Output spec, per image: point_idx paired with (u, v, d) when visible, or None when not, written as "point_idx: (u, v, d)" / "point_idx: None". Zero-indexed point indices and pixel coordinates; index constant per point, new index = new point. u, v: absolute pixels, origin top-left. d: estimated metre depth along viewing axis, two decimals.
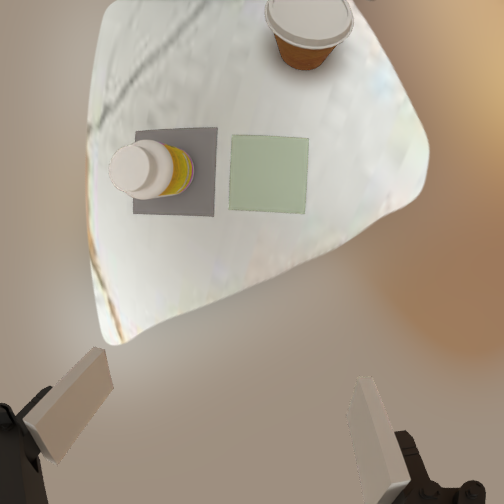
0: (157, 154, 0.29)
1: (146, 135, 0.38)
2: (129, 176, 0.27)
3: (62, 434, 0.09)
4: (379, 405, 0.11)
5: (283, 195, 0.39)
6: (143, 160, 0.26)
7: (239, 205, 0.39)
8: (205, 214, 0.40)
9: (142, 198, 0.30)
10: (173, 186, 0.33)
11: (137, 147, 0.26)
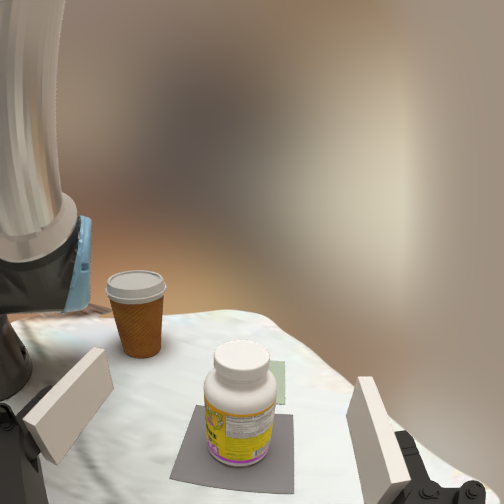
0: None
1: (180, 467, 0.24)
2: (251, 353, 0.24)
3: (62, 434, 0.09)
4: (379, 405, 0.11)
5: None
6: (236, 342, 0.26)
7: (280, 396, 0.36)
8: (291, 420, 0.32)
9: (276, 383, 0.25)
10: None
11: (220, 345, 0.25)
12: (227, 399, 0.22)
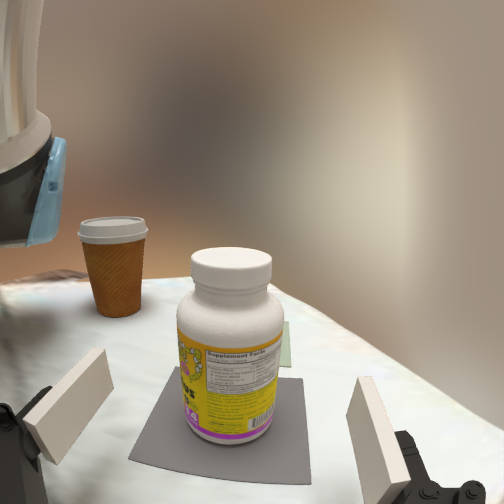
0: None
1: (145, 444, 0.17)
2: (245, 256, 0.17)
3: (62, 434, 0.09)
4: (379, 405, 0.11)
5: None
6: (224, 248, 0.19)
7: (285, 358, 0.29)
8: (300, 385, 0.25)
9: (282, 308, 0.18)
10: None
11: (201, 250, 0.18)
12: (208, 322, 0.15)
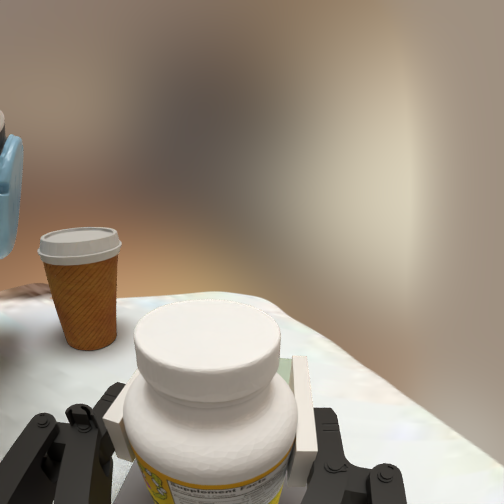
0: None
1: None
2: (232, 326, 0.09)
3: None
4: (305, 381, 0.13)
5: None
6: (197, 304, 0.11)
7: None
8: None
9: (295, 403, 0.10)
10: None
11: (157, 308, 0.10)
12: (165, 448, 0.07)
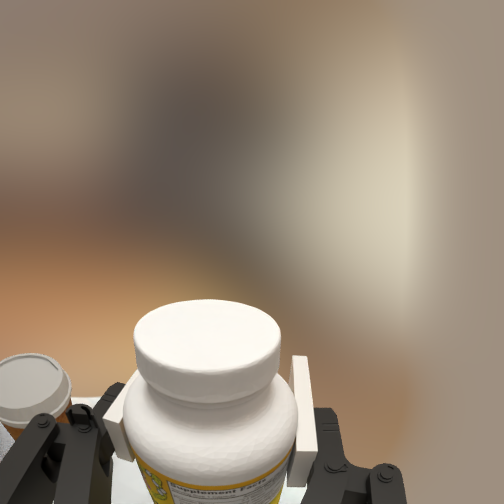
0: None
1: None
2: (232, 327, 0.09)
3: None
4: (305, 381, 0.13)
5: None
6: (197, 304, 0.11)
7: None
8: None
9: (295, 404, 0.10)
10: None
11: (157, 309, 0.10)
12: (165, 449, 0.07)
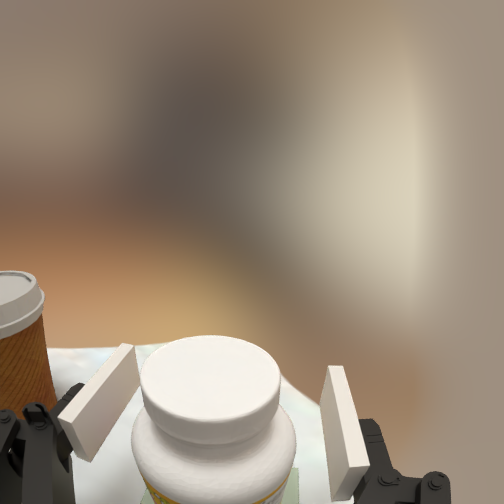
0: None
1: None
2: (234, 369, 0.09)
3: (96, 430, 0.10)
4: (346, 393, 0.12)
5: None
6: (200, 341, 0.11)
7: None
8: None
9: (293, 433, 0.10)
10: None
11: (161, 347, 0.10)
12: (173, 480, 0.07)
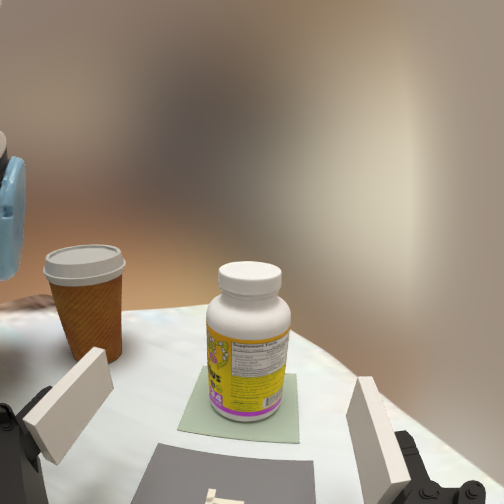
0: None
1: None
2: (261, 269, 0.23)
3: (62, 434, 0.09)
4: (379, 405, 0.11)
5: None
6: (243, 262, 0.24)
7: (291, 430, 0.22)
8: (310, 471, 0.17)
9: (289, 309, 0.23)
10: None
11: (225, 264, 0.23)
12: (234, 320, 0.20)
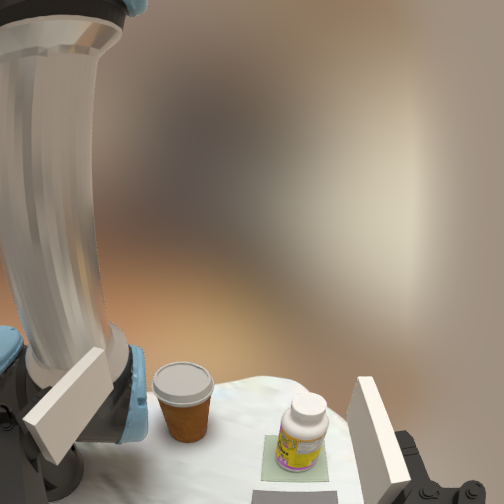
0: None
1: None
2: (315, 402, 0.35)
3: (62, 434, 0.09)
4: (379, 405, 0.11)
5: None
6: (303, 395, 0.37)
7: (324, 474, 0.35)
8: (335, 496, 0.30)
9: None
10: None
11: (293, 398, 0.36)
12: (301, 432, 0.33)
